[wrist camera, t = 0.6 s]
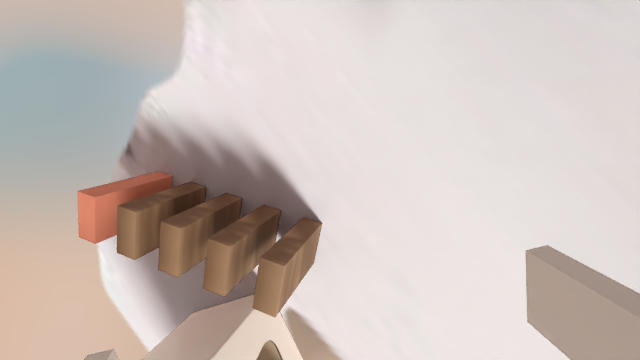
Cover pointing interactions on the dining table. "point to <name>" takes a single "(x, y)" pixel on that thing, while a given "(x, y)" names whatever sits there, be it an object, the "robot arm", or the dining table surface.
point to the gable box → (228, 336)
